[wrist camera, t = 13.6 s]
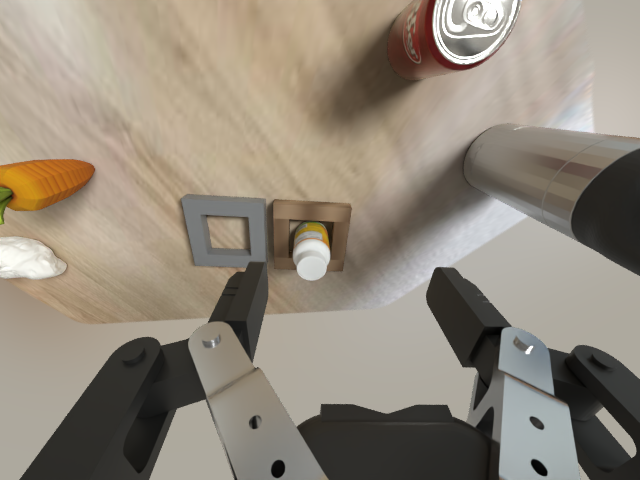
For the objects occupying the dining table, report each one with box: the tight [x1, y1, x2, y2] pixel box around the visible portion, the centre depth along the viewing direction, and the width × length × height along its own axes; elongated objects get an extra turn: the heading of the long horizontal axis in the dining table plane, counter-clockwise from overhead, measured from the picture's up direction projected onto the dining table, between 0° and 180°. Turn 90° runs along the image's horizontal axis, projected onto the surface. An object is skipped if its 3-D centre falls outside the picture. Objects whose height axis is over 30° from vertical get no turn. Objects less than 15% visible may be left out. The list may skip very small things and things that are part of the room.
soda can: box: [387, 0, 522, 80], centre depth 24 cm, size 7×7×12 cm
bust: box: [0, 236, 67, 279], centre depth 36 cm, size 12×8×11 cm
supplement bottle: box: [293, 221, 330, 281], centre depth 37 cm, size 5×5×10 cm
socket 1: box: [181, 194, 268, 268], centre depth 39 cm, size 12×12×2 cm
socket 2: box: [273, 199, 352, 271], centre depth 40 cm, size 12×12×2 cm
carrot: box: [0, 159, 95, 225], centre depth 28 cm, size 5×5×15 cm
